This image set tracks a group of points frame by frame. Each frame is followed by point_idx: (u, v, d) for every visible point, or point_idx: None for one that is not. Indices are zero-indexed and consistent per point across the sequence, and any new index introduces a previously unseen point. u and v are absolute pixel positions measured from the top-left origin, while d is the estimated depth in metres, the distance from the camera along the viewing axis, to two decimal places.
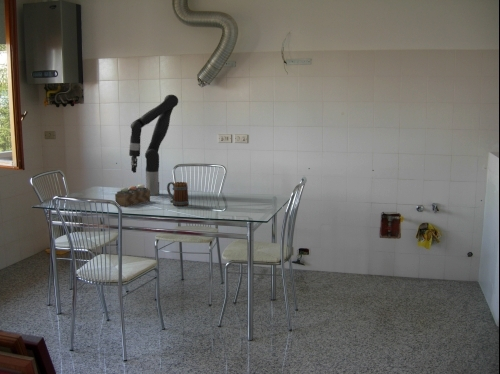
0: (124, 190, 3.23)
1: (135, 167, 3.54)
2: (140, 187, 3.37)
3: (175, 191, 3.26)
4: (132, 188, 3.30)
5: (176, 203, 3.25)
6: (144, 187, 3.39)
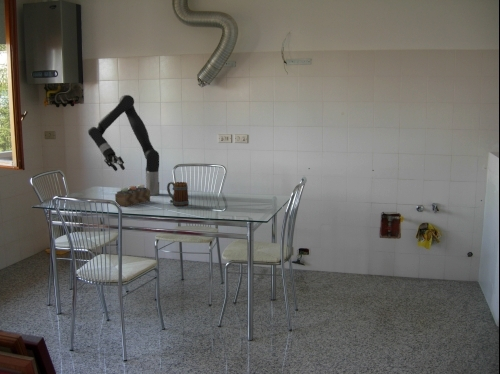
0: (124, 190, 3.23)
1: (112, 165, 3.32)
2: (140, 187, 3.37)
3: (175, 191, 3.26)
4: (132, 188, 3.30)
5: (176, 203, 3.25)
6: (144, 187, 3.39)
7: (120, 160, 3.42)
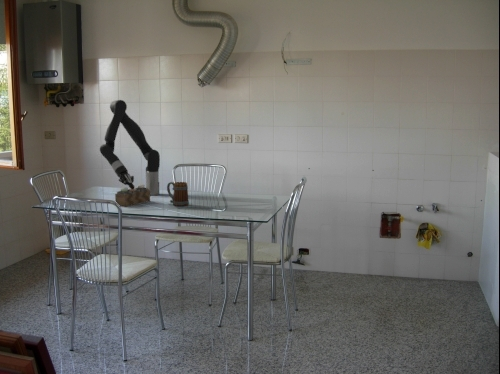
0: (124, 190, 3.23)
1: (128, 183, 3.31)
2: (140, 187, 3.37)
3: (175, 191, 3.26)
4: (132, 190, 3.30)
5: (176, 203, 3.25)
6: (144, 187, 3.39)
7: (131, 179, 3.36)
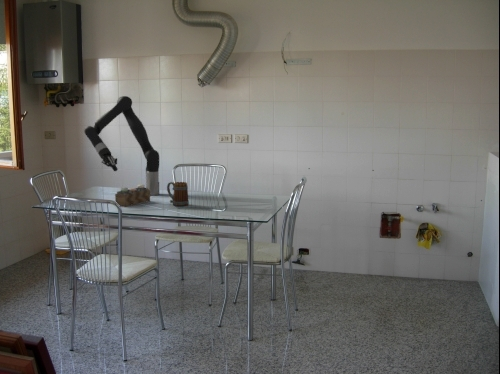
0: (124, 190, 3.23)
1: (111, 165, 3.32)
2: (140, 187, 3.37)
3: (175, 191, 3.26)
4: (132, 190, 3.30)
5: (176, 203, 3.25)
6: (144, 187, 3.39)
7: (114, 161, 3.37)
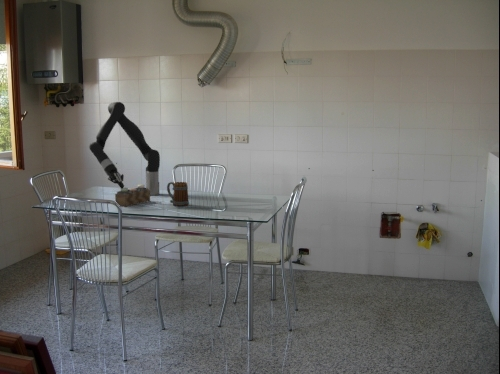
0: (124, 190, 3.23)
1: (118, 182, 3.25)
2: (140, 187, 3.37)
3: (175, 191, 3.26)
4: (132, 190, 3.30)
5: (176, 203, 3.25)
6: (144, 187, 3.39)
7: None
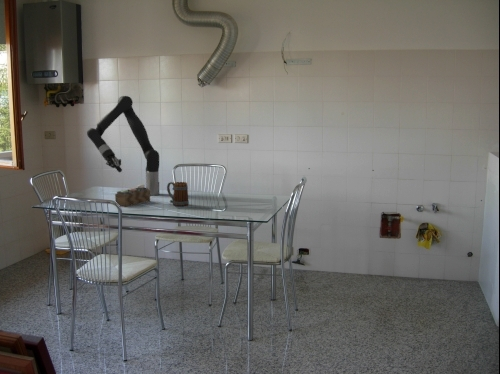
0: None
1: (116, 167, 3.34)
2: (140, 187, 3.37)
3: (175, 191, 3.26)
4: (132, 190, 3.30)
5: (176, 203, 3.25)
6: (144, 187, 3.39)
7: (118, 162, 3.39)
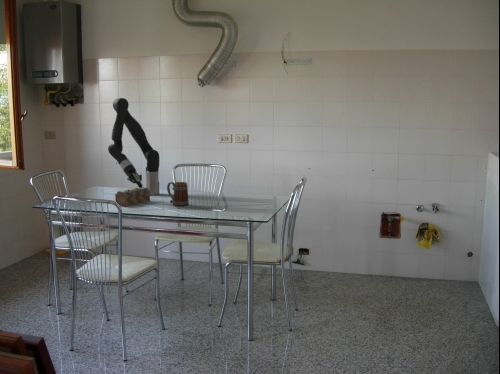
0: None
1: (137, 182, 3.38)
2: None
3: (175, 191, 3.26)
4: (132, 190, 3.30)
5: (176, 203, 3.25)
6: None
7: (139, 177, 3.43)
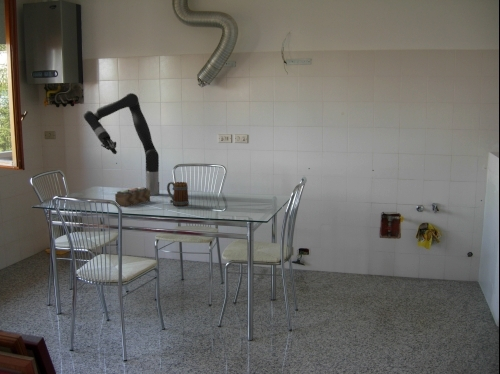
0: None
1: (111, 148, 3.41)
2: None
3: (175, 191, 3.26)
4: (132, 190, 3.30)
5: (176, 203, 3.25)
6: None
7: None
